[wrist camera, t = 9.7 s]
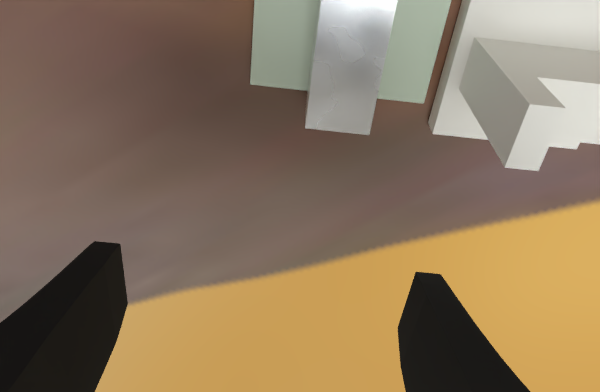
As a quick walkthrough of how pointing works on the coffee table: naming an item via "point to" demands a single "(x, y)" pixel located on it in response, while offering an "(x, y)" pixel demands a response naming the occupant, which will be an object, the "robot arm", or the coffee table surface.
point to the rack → (522, 77)
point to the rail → (347, 63)
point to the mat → (300, 35)
